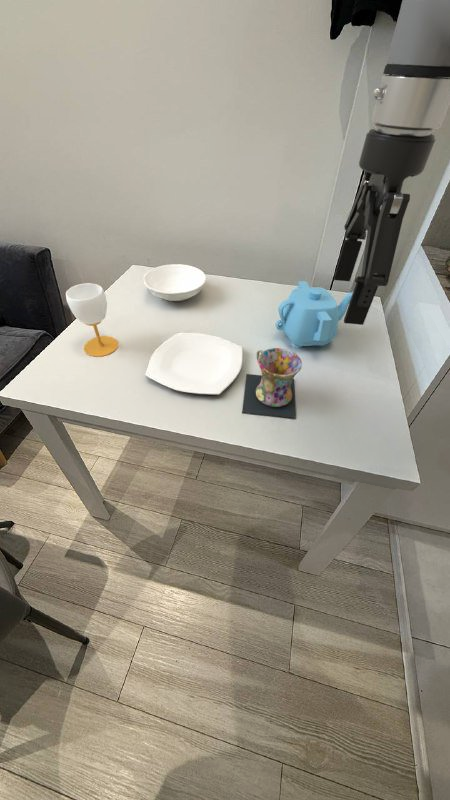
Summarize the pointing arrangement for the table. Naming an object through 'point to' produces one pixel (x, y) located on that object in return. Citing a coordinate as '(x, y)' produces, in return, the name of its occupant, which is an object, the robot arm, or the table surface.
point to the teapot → (311, 315)
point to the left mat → (258, 408)
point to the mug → (277, 375)
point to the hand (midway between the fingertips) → (346, 299)
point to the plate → (196, 363)
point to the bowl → (174, 281)
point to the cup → (91, 316)
